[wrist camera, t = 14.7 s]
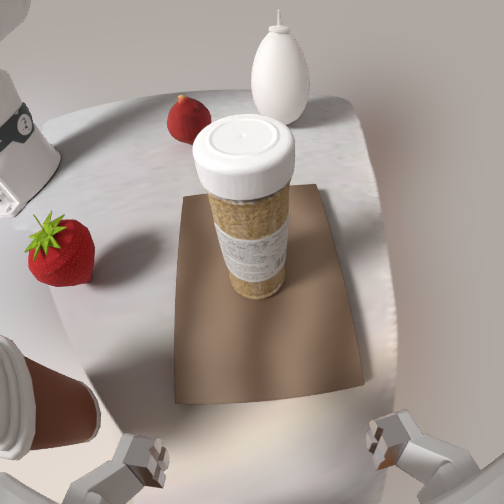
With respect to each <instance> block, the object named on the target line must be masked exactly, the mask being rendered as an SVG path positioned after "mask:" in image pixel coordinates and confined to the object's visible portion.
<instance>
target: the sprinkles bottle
mask: <svg viewBox="0 0 504 504" xmlns="http://www.w3.org/2000/svg"><path fill="white" fill-rule="evenodd" d="M193 156H194V161H195V165H196V169H197V172H198V176H199V179H200V182H201V183H202V185H203V186H204V187H205V188H206V191H207V194H208V197H209V202H210V205H211V209H212V213H213V218H214V224H215V228H216V231H217V235H218V239H219V243H220V246H221V249H222V253H223V256H224V260H225V263H226V265H227V267H228V270H229V275H230V281H231V284H232V286H233V287H234V289H235V290H236V291H237V293H239V294H240V295H242V296H244V297H246V298H249V299H255V300H259V299H265V298H267V297H270V296H272V295H273V294H275V293H276V292H277V291H278V290H279V288H280V287H281V286H282V283H283V281H284V275H285V270H284V263H285V259H286V249H287V238H288V224H289V188H290V181H291V178H292V175H293V172H294V165H295V139H294V136H293V133H292V132H291V130H290V129H289V128H288V127H287V126H286V125H285V124H284V123H282V122H281V121H279V120H277V119H275V118H272V117H269V116H265V115H259V114H239V115H233V116H229V117H225V118H222V119H219V120H217V121H215V122H213V123H211V124H210V125H208V126H207V127H205V128H204V129H203V130H202V131H201V132H200V133H199V134H198V135H197V137H196V139H195V141H194V144H193Z"/></svg>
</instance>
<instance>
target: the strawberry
mask: <svg viewBox="0 0 504 504" xmlns="http://www.w3.org/2000/svg"><path fill="white" fill-rule="evenodd" d="M51 215H52V211H51V212H50V214H49V215H48V217H47V218H46V220H45V222H44V223H43V226H44V228H43V227H42V225H41V224H40V222H39V221H38V219H37V218H36V216H35V215H34V214H33V216H34V217H35V219H36V220H37V222H38V223H39V225H40V226H41V227H42V229H43V230H41V231H39V232H37V233H35V234H33V235H31V236H30V238H34V240H33V241H32V243H31V244H30V245H29V246H28V248H27V249H26V250H25V252H27V251H29V258H28V265H29V269H30V271H31V272H32V274H33V275H34V276H35V277H36V279H37V280H38V281H40V282H42V283H45V284H48V285H51V286H55V287H64V286H74V285H78V284H84V283H87V282H89V281H90V279H91V277H92V271H93V267H94V256H95V246H94V243H93V240H92V237H91V234H90V232H89V230H88V228H87V227H85V226H84V225H83V224H81V223H80V222H78V221H77V220H61V219H62V218H63V217H64V215H65V214H64V215H62V216H60V217H59V218H57V219H55V220H53V221H51V222H50V220H51Z"/></svg>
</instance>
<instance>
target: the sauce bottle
mask: <svg viewBox="0 0 504 504" xmlns="http://www.w3.org/2000/svg"><path fill="white" fill-rule="evenodd" d="M269 32H270V33H268V34H267V35H266V36H265V37H264V39H263V40H262V42H261V44H260V46H259V48H258V50H257V53H256V55H255V59H254V62H253V67H252V74H251V89H252V95H253V99H254V102H255V105H256V107H257V109H258V111H259V112H260V114H261V115H265V116H269V117H272V118H275V119H277V120H279V121H281V122H282V123H284V124H285V125H288V124H290V123H291V122H293V121H295V120H297V119H298V118H299V117H300V115H301V114H302V112H303V111H304V109H305V106H306V104H307V101H308V96H309V88H310V82H309V72H308V67H307V63H306V60H305V57H304V54H303V52H302V50H301V47H300V46H299V44H298V42H297V41H296V39H295V38H294V37H293V36H292V35H291V34H290V33H289V32H290V28H289V27H287V26H282V25H281V13H280V9H278V14H277V25H275V26H270V27H269Z"/></svg>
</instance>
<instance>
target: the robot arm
mask: <svg viewBox="0 0 504 504" xmlns="http://www.w3.org/2000/svg"><path fill="white" fill-rule="evenodd" d="M30 2H31V0H0V41H1V40H3V39H4V38H5V37H6V36H7V35H8V34H9V33H11V32H12V31H13V30H14V29H15V28H16V27H17V26H19V25H20V24H21V23H22V22H23V21H24V19H25V18H26V16H27V13H28V11H29V8H30ZM60 160H61V155H60V153H59V152H57V151H56V150H55V149H54V147H53V145H52V144H50V143H49V142H48V141H47V140H46V138H45V137H44V136H43V134H42V133H41V132H40V130H39V129H38V128H37V126H36V125H35V124H34V123H33V120H32V116H31V114H30V112H29V109H28V107H27V106H26V104H25V103H24V102H23V103H22V101H21V99H20V97H19V95H18V93H17V91H16V89H15V87H14V84H13V82H12V80H11V77H10V75H9V74H8V73H7V72H6V71H4V70H1V69H0V218H12V217H14V216H15V215H16V214H17V213H18V212H19V211H20V210H21V208H22V207H23V206H24V205H25V204H26V203H27V202H28V201H29V200H30V199H31V198H32V197H33V196H34V195H35V194H37V193H38V192H39V191H40V190H41V189H42V187H43V186H44V185H45V184H46V183H47V182H48V180H49V179H50V178H51V177H52V175H53V174H54V172H55V171H56V169H57V167H58V165H59V163H60ZM369 426H370V429H369V430H368V431H367V433H366V445H367V448H368V451H369V452H371V453H373V454H374V455H373V457H372V461H373V463H374V466H375V468H376V470H380V469H383V468H387V467H390V466H393V465H396V466H397V467H399V468H400V469H402V470H403V471H404V472H406V473H408V474H409V475H411V476H412V477H414V478H416V479H417V480H419V481H420V482H422V483H423V484H425V486H424V487H423V488H422V489H421V491H419V493H418V494H417V497H418V499H419V502H420V504H504V453H503V454H502V455H501V456H500V457H498V458H497V459H496V460H494V461H493V462H492V463H490V464H489V465H488V466H486V467H485V468H484V469H482V470H480V469H479V467H478V466H477V464H476V462H475V461H474V459H473V458H472V456H471V455H470V453H469V452H468V451H467V450H464V449H462V448H459V447H457V446H454V445H452V444H449V443H447V442H444V441H442V440H439V439H437V438H435V437H432V436H430V435H428V434H424V435H423V434H422V432H421V431H420V429H419V428H418V426H417V424H416V423H415V421H414V420H413V418H412V417H411V415H410V413H409V412H408V410H406V409H404V410H401V411H398V412H395V413H391V414H388V415H385V416H382V417H379V418H375V419H372V420H371V421H370V424H369ZM162 444H163V442H162V441H161V439H160V438H155V437H147V436H140V435H135V434H128V433H125V434H124V435H122V437H121V440H120V442H119V445H118V447H117V449H116V452H115V454H114V456H113V459H112V461H107V462H105V463H104V464H102V465H101V466H99V467H97V468H96V469H94V470H93V471H91V472H89V473H88V474H86V475H84V476H83V477H81V478H79V479H78V480H76V481H74V482H73V483H71V485H70V487H69V489H68V491H67V493H66V495H65V498H64V500H63V502H62V504H126V503H127V502H128V501H129V500H130V499H131V498H132V497H134V496H135V495H136V494H137V493H138V492H139V491H140V490H141V489H142V488H143V487H144V486H150V487H157V488H163V487H164V483H165V479H166V475H165V474H164V471H165V470H166V469H168V466H169V454H168V451H167V449H166V448H164V447H163V446H162ZM0 504H59V503H57V502H55V501H53V500H51V499H49V498H47V497H45V496H44V495H42V494H40V493H38V492H36V491H35V490H33V489H31V488H30V487H28V486H26V485H25V484H23V483H21V482H20V481H18V480H17V479H15V478H14V477H12V476H11V475H9V474H7V473H5V472H1V473H0Z"/></svg>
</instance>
